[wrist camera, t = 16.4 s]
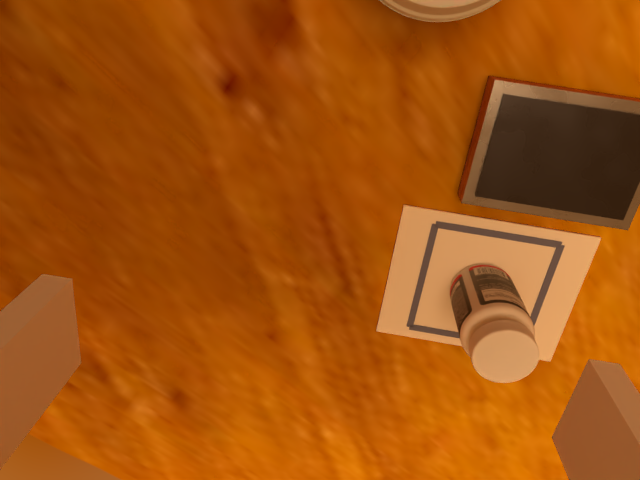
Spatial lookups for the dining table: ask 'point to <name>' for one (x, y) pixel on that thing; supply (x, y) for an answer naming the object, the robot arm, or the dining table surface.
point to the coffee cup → (438, 8)
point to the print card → (480, 248)
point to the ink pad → (555, 153)
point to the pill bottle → (493, 323)
